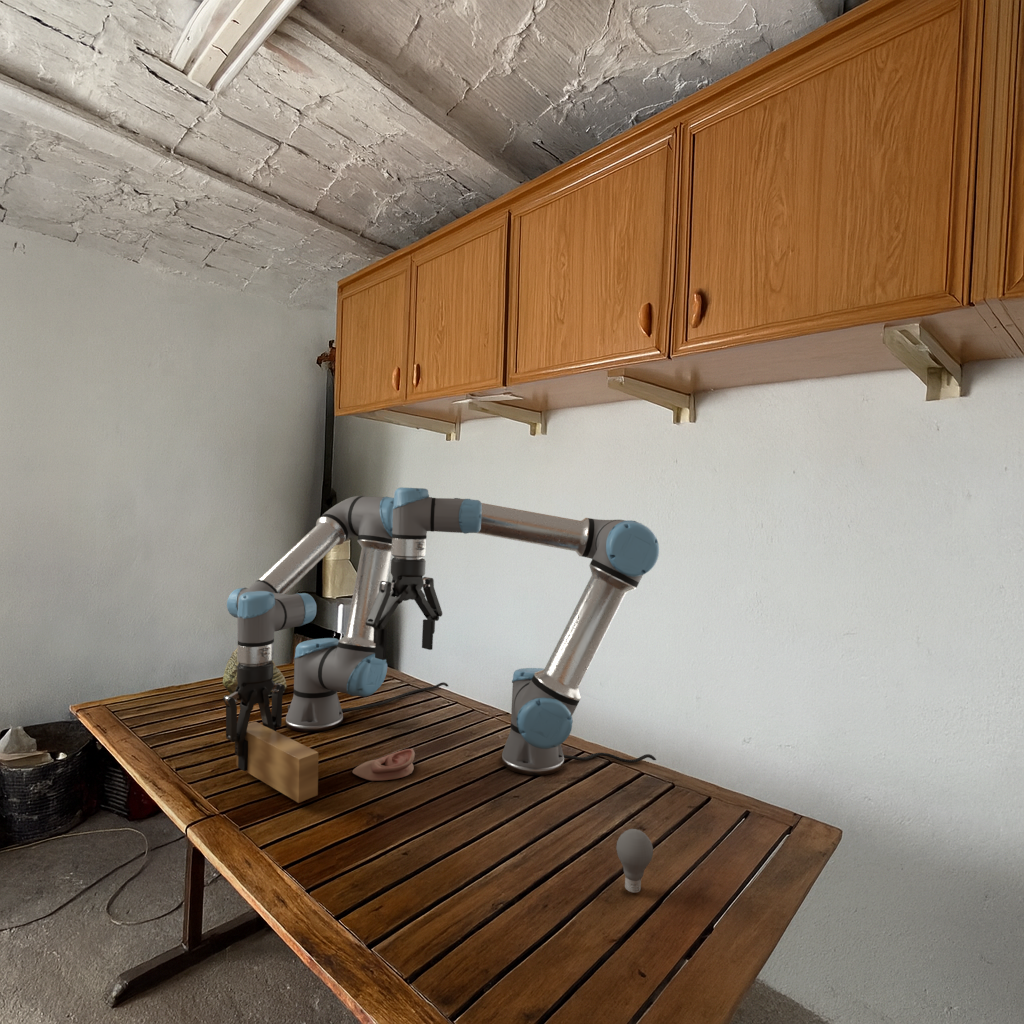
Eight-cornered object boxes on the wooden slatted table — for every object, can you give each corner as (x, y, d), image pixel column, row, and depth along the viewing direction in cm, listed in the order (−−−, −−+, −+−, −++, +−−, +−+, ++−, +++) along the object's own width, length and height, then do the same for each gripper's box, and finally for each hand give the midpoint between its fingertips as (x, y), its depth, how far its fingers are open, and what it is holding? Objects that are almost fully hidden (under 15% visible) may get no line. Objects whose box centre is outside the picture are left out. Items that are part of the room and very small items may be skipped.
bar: (236, 765, 142) (236, 726, 142) (254, 759, 146) (255, 721, 145) (298, 803, 127) (299, 759, 126) (317, 795, 130) (318, 752, 130)
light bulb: (610, 879, 108) (613, 822, 108) (644, 879, 109) (647, 822, 109) (619, 902, 102) (622, 840, 102) (655, 901, 103) (658, 840, 103)
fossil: (218, 695, 195) (220, 647, 195) (278, 685, 208) (279, 640, 207) (228, 703, 189) (230, 653, 188) (289, 692, 201) (290, 645, 201)
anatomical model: (346, 759, 143) (368, 741, 154) (346, 777, 143) (367, 757, 154) (402, 767, 140) (420, 748, 152) (401, 785, 140) (419, 764, 152)
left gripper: (225, 673, 131) (223, 784, 132) (300, 657, 145) (298, 757, 146) (207, 666, 136) (206, 773, 137) (282, 651, 150) (280, 748, 151)
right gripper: (374, 562, 127) (370, 666, 128) (459, 556, 147) (456, 647, 147) (351, 558, 132) (347, 659, 132) (437, 553, 152) (433, 642, 152)
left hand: (254, 764), depth 142 cm, fingers closed on bar, 4 cm apart
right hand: (404, 653), depth 140 cm, fingers open, 13 cm apart
